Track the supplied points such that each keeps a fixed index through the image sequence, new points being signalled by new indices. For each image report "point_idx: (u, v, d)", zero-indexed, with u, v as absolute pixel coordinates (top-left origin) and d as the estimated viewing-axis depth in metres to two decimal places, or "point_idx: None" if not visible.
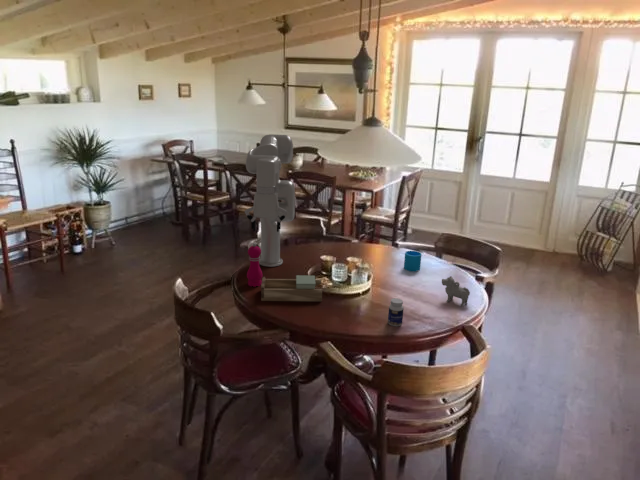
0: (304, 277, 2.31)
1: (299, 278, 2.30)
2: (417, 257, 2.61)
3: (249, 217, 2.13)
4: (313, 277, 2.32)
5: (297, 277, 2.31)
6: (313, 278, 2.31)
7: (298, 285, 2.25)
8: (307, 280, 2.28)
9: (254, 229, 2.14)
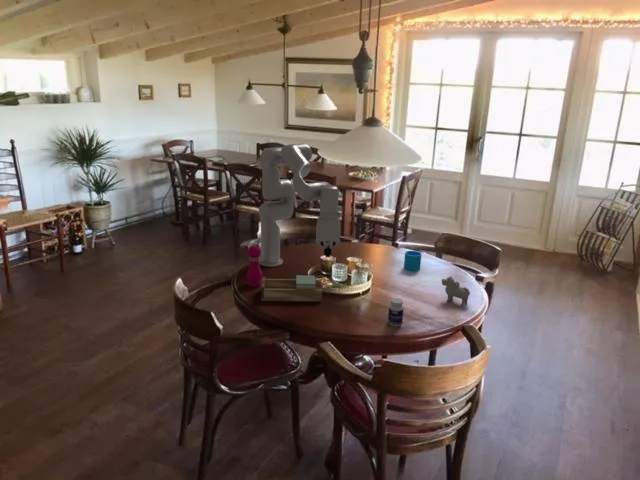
0: (304, 277, 2.31)
1: (299, 278, 2.30)
2: (417, 257, 2.61)
3: (322, 244, 2.23)
4: (313, 277, 2.32)
5: (297, 277, 2.31)
6: (313, 278, 2.31)
7: (298, 285, 2.25)
8: (307, 280, 2.28)
9: (327, 255, 2.24)
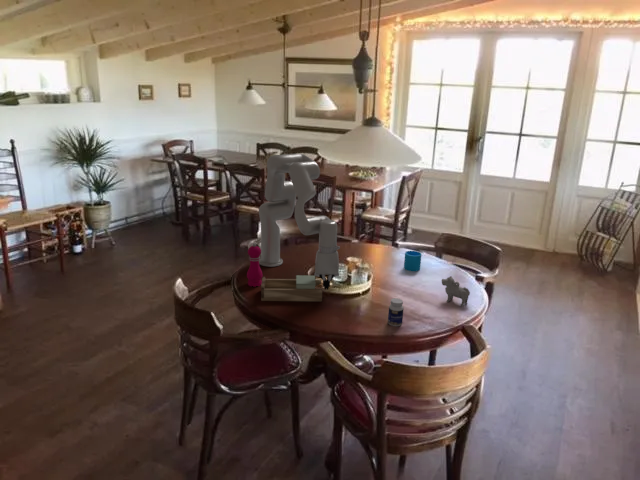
0: (304, 277, 2.31)
1: (299, 278, 2.30)
2: (417, 257, 2.61)
3: (321, 276, 2.28)
4: (313, 277, 2.32)
5: (297, 277, 2.31)
6: (313, 278, 2.31)
7: (298, 285, 2.25)
8: (307, 280, 2.28)
9: (325, 287, 2.29)
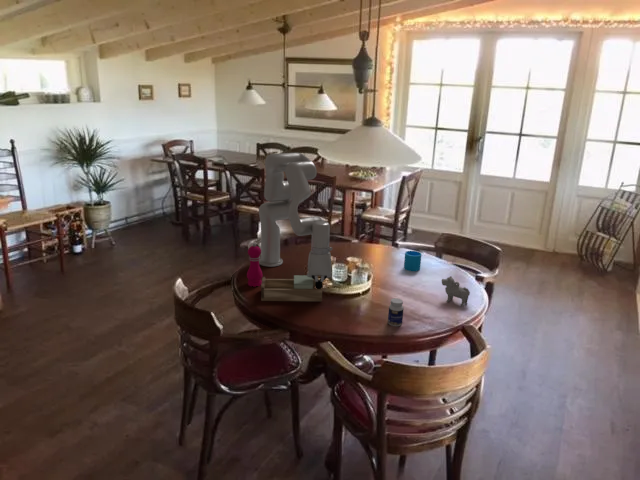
0: (302, 277, 2.31)
1: (297, 278, 2.30)
2: (417, 257, 2.61)
3: (314, 277, 2.28)
4: None
5: (295, 277, 2.31)
6: (311, 278, 2.31)
7: (296, 285, 2.25)
8: (305, 280, 2.28)
9: (318, 288, 2.29)
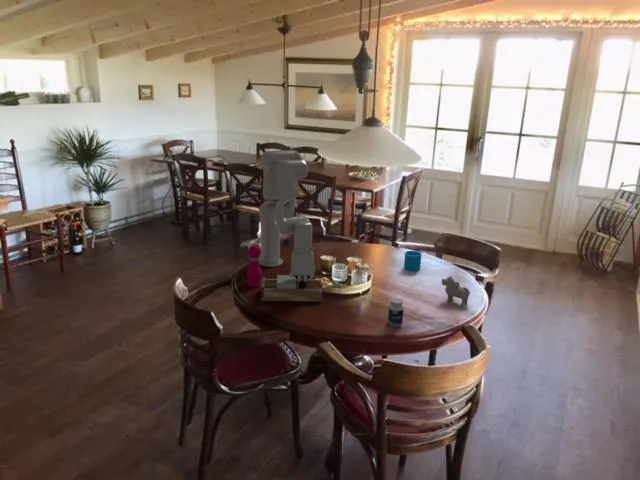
0: (285, 277, 2.31)
1: (280, 278, 2.29)
2: (417, 257, 2.61)
3: (297, 277, 2.28)
4: (294, 277, 2.31)
5: (278, 277, 2.31)
6: (294, 278, 2.30)
7: (278, 285, 2.25)
8: (288, 280, 2.27)
9: (301, 288, 2.29)
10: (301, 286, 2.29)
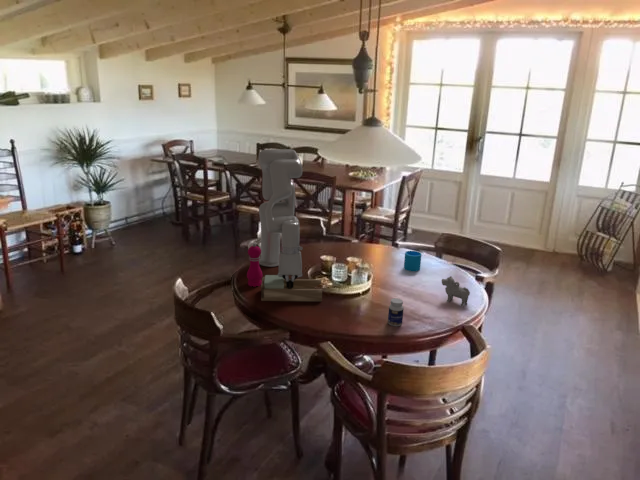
0: (273, 277, 2.31)
1: (268, 278, 2.29)
2: (417, 257, 2.61)
3: (284, 277, 2.28)
4: (282, 277, 2.31)
5: (266, 277, 2.30)
6: (282, 278, 2.30)
7: (266, 285, 2.24)
8: (276, 280, 2.27)
9: (289, 288, 2.29)
10: (289, 286, 2.28)
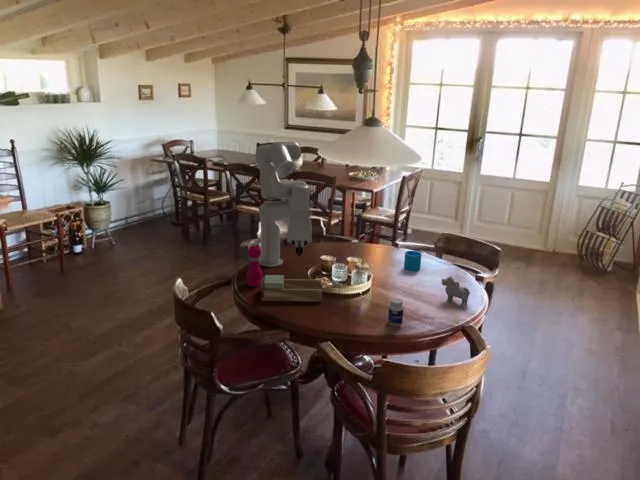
0: (273, 277, 2.31)
1: (268, 278, 2.29)
2: (417, 257, 2.61)
3: (294, 243, 2.23)
4: (282, 277, 2.31)
5: (266, 277, 2.30)
6: (282, 278, 2.30)
7: (266, 285, 2.24)
8: (276, 280, 2.27)
9: (298, 254, 2.24)
10: (298, 252, 2.24)
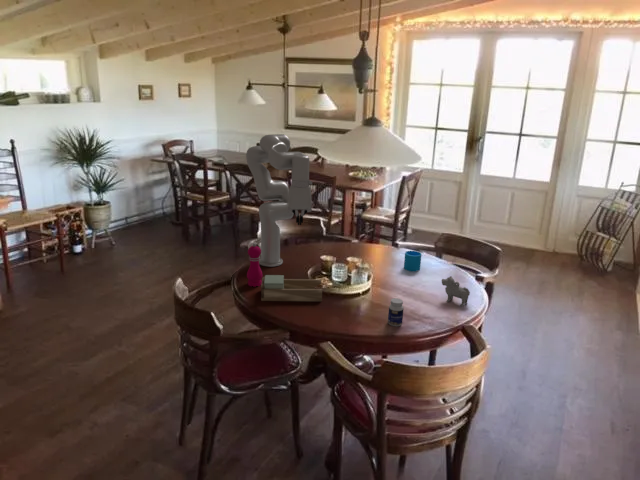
0: (273, 277, 2.31)
1: (268, 278, 2.29)
2: (417, 257, 2.61)
3: (294, 212, 2.31)
4: (282, 277, 2.31)
5: (266, 277, 2.30)
6: (282, 278, 2.30)
7: (266, 285, 2.24)
8: (276, 280, 2.27)
9: (298, 223, 2.32)
10: (298, 221, 2.32)
